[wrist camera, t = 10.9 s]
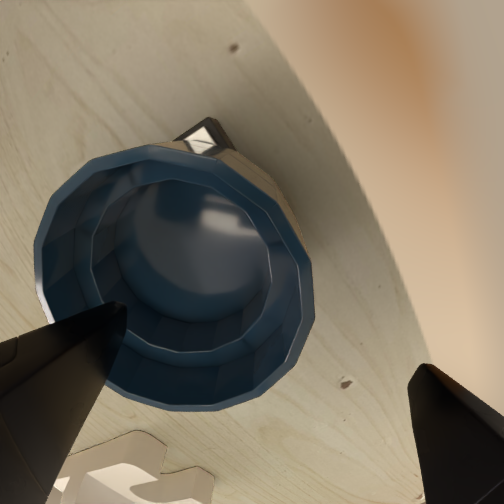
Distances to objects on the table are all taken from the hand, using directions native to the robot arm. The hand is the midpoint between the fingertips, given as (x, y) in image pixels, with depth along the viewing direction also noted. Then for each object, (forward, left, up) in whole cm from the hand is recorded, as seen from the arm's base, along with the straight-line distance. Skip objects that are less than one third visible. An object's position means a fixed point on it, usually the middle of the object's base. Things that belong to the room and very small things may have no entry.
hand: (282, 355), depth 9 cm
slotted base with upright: (+22, +18, -9) cm, 30 cm away
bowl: (+3, -2, -6) cm, 7 cm away
